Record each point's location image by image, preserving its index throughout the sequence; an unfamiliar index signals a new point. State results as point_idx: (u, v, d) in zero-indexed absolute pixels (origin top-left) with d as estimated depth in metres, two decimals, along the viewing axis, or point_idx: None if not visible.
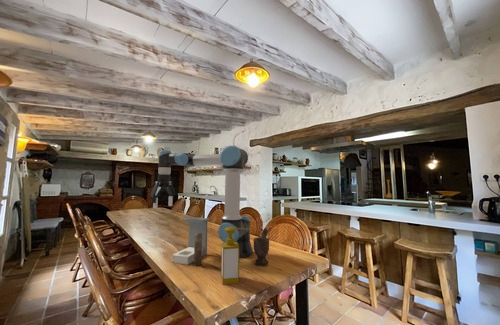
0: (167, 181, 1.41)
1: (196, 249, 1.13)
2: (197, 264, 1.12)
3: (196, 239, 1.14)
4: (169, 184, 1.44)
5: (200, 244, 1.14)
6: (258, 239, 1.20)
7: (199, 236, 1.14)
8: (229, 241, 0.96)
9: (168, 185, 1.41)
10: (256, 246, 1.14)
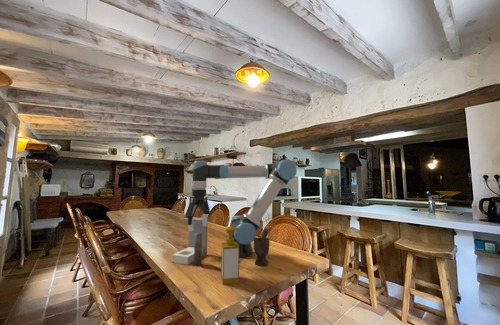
0: (202, 197, 1.19)
1: (196, 249, 1.13)
2: (197, 264, 1.12)
3: (196, 239, 1.14)
4: (204, 200, 1.22)
5: (200, 244, 1.14)
6: (258, 239, 1.20)
7: (199, 236, 1.14)
8: (229, 241, 0.96)
9: (203, 202, 1.19)
10: (256, 246, 1.14)
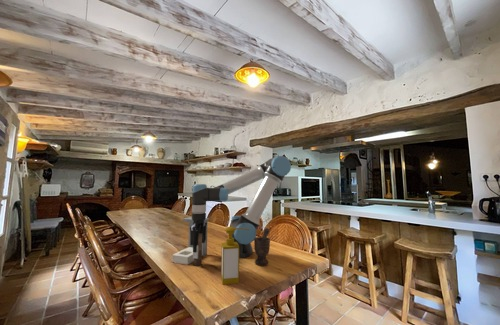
0: (203, 219, 1.18)
1: None
2: (197, 264, 1.12)
3: None
4: None
5: (200, 244, 1.14)
6: (259, 239, 1.20)
7: (199, 236, 1.14)
8: (229, 241, 0.96)
9: (203, 226, 1.17)
10: (257, 245, 1.14)
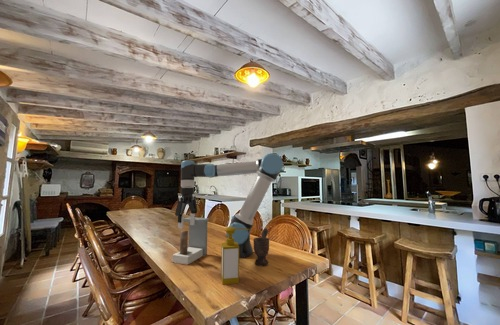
0: (191, 195, 1.25)
1: (182, 246, 1.19)
2: None
3: (182, 236, 1.19)
4: (192, 199, 1.27)
5: (185, 241, 1.19)
6: (258, 239, 1.20)
7: (184, 233, 1.19)
8: (229, 241, 0.96)
9: (191, 200, 1.24)
10: (256, 246, 1.14)
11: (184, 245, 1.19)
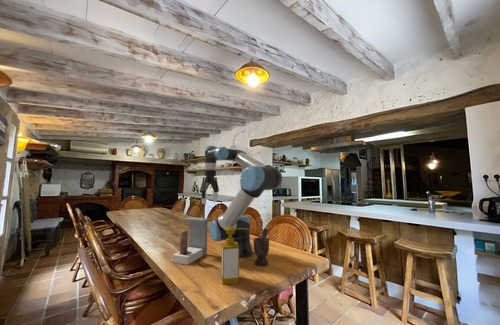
0: (213, 177, 1.40)
1: (182, 246, 1.19)
2: None
3: (182, 236, 1.19)
4: (214, 180, 1.43)
5: (185, 241, 1.19)
6: (258, 239, 1.20)
7: (184, 233, 1.19)
8: (229, 241, 0.96)
9: (214, 181, 1.40)
10: (256, 246, 1.14)
11: (184, 245, 1.19)
